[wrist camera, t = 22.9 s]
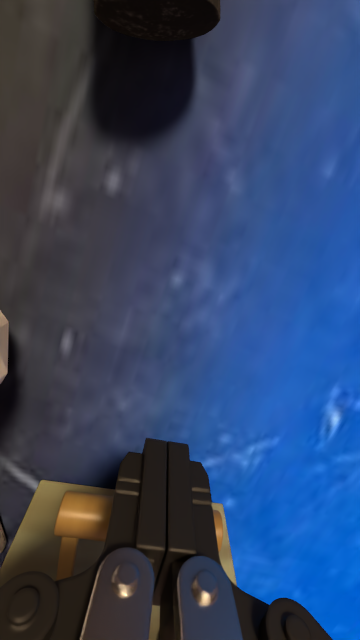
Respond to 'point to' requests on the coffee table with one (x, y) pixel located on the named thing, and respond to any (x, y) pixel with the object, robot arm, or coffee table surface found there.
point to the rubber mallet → (159, 17)
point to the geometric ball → (3, 346)
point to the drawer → (78, 535)
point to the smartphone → (2, 539)
